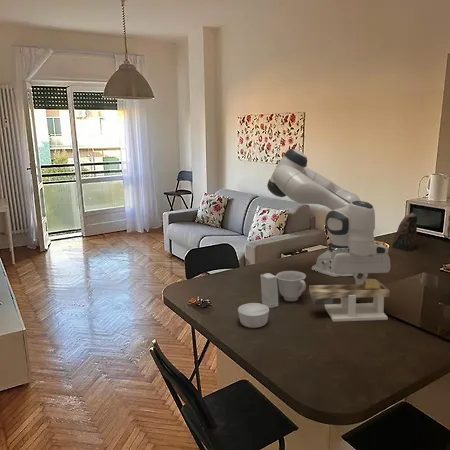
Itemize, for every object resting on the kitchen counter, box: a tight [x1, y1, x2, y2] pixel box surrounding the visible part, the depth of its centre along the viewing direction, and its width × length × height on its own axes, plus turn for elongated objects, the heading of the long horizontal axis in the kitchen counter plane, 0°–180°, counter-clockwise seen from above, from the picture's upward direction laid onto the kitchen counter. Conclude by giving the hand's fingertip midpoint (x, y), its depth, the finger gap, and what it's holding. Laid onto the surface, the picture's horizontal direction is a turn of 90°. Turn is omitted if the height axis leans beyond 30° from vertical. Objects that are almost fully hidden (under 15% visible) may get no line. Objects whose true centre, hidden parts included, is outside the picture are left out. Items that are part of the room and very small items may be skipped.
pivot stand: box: [324, 295, 389, 322], centre depth 149 cm, size 19×13×9 cm
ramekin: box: [237, 302, 270, 329], centre depth 145 cm, size 11×11×5 cm
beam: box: [308, 283, 390, 305], centre depth 148 cm, size 27×8×5 cm, turn 89°
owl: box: [391, 212, 418, 252], centre depth 231 cm, size 13×13×20 cm
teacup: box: [275, 270, 307, 302], centre depth 164 cm, size 12×15×10 cm
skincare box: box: [259, 272, 279, 309], centre depth 160 cm, size 6×4×12 cm
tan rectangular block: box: [361, 278, 381, 290], centre depth 148 cm, size 5×4×4 cm
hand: (359, 284), depth 148 cm, fingers closed
